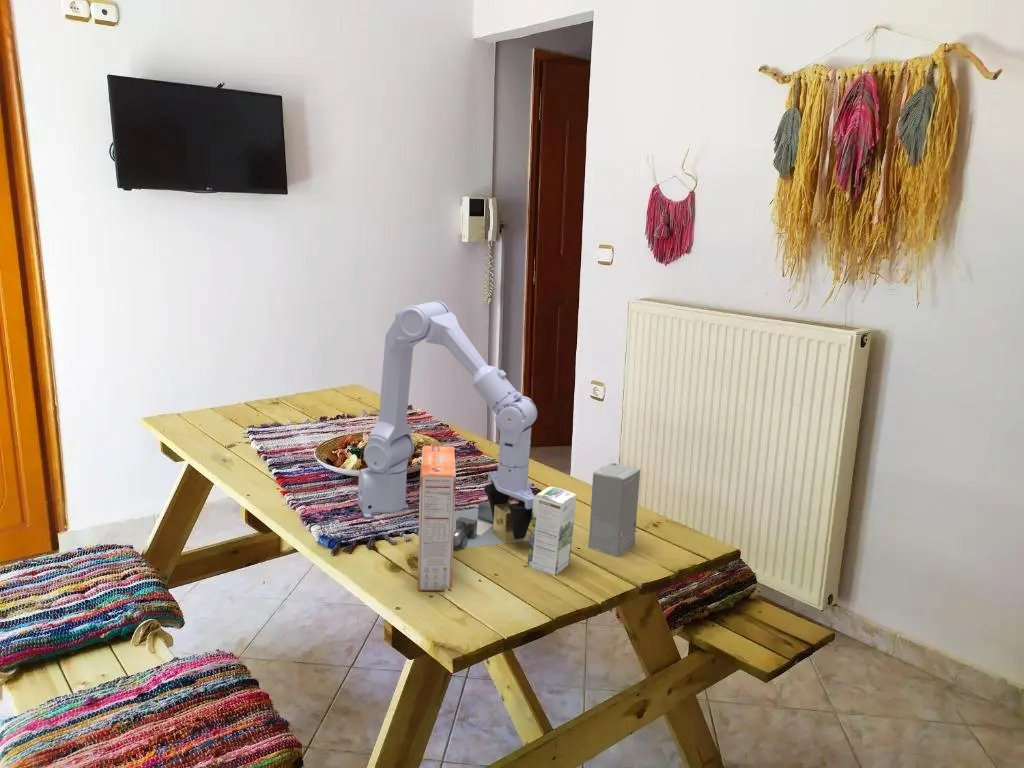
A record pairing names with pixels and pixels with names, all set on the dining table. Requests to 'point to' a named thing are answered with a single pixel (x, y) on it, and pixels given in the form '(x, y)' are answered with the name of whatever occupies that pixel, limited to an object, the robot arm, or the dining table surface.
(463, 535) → the shaft
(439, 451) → the cracker box
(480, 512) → the shaft
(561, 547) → the syrup box
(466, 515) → the board
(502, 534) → the tan block
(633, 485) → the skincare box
